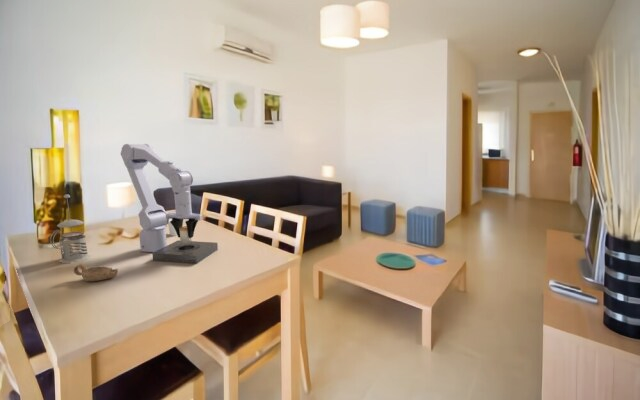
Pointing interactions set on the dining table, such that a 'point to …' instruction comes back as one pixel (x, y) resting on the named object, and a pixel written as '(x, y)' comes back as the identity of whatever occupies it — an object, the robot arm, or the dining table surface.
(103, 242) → the dining table surface
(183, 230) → the plug
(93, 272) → the oil lamp
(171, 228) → the cream tapered cylinder
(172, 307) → the dining table surface
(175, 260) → the dark grey slab
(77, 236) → the french press
